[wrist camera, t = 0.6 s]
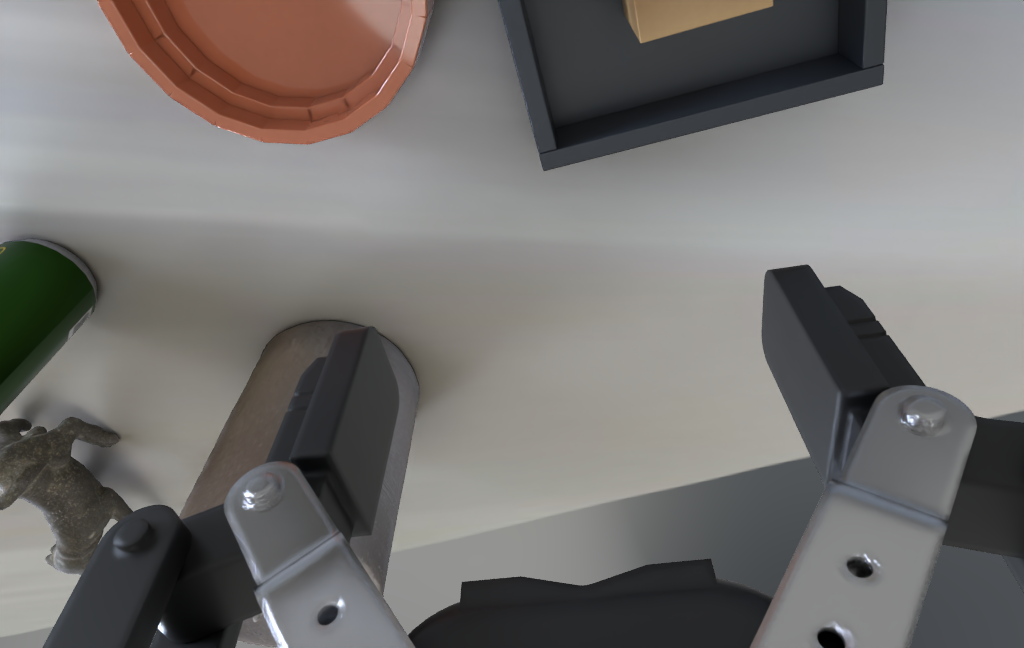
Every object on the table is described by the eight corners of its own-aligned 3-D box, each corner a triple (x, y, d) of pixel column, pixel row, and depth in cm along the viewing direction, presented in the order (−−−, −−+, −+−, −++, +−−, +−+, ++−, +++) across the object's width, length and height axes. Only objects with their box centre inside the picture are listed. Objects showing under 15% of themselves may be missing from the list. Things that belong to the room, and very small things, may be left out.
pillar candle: (242, 407, 41) (123, 647, 29) (283, 291, 35) (159, 526, 23) (389, 457, 43) (337, 696, 31) (448, 355, 38) (413, 596, 26)
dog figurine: (-1, 397, 40) (-92, 495, 34) (85, 388, 40) (8, 485, 34) (100, 517, 47) (39, 615, 41) (174, 511, 47) (123, 609, 41)
